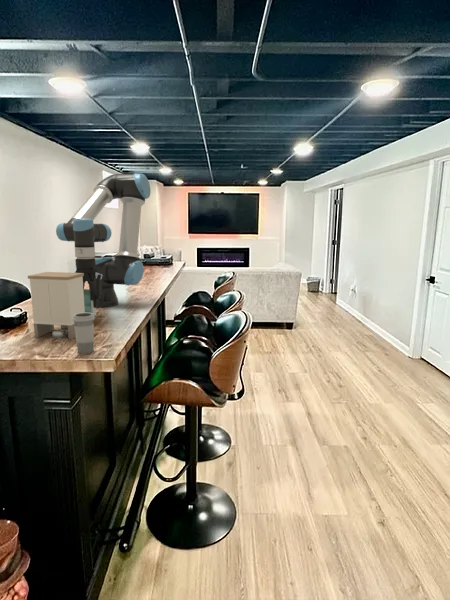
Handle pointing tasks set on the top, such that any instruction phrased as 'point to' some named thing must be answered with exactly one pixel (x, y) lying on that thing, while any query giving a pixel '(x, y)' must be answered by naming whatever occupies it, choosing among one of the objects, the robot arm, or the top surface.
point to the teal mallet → (86, 304)
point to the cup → (84, 331)
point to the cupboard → (56, 300)
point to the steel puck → (59, 333)
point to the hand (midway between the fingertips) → (88, 315)
